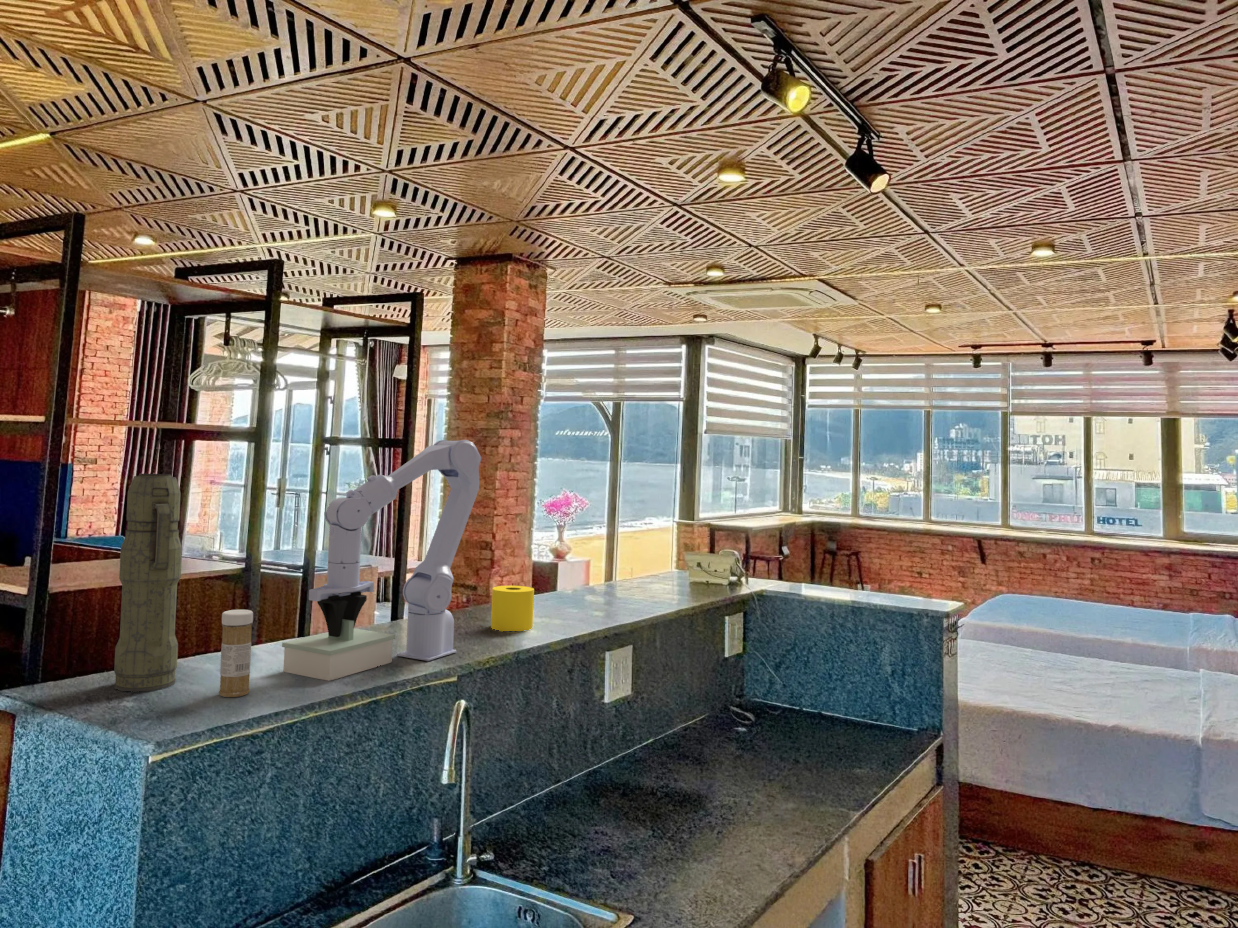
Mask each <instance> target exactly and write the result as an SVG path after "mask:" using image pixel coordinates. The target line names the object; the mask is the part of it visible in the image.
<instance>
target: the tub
mask: <svg viewBox="0 0 1238 928" xmlns="http://www.w3.org/2000/svg"><path fill="white" fill-rule="evenodd" d="M393 640H394V639H393ZM393 640H389V641H385V642H381V643H377V644H374V645H370V646H366V647H362V648H358V649H354V650H350V651H346V652H343V653H339V654H335V655H331V656H330V655H324V654H319V653H313V652H307V651H302V650H296V649H291V648H285V647H284V650H283V651H284V654H283V673H288V674H293V675H296V676H297V675H298V676H303V677H307V678H312V679H318V680H323V681H327V682H328V681H329V682H330V681H334V680H337V679H339V678H340V679H341V678H343V677H347V676H350V675H353V674H356V673H360V672H363V671H366V670H370V669H374V668H376V667H377V666H378V667H381V666H384V665H388V664H390V663H391V664H392V660H393V643H394V642H393ZM380 665H381V666H380Z"/></svg>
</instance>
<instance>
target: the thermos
mask: <svg viewBox="0 0 1238 928" xmlns="http://www.w3.org/2000/svg"><path fill="white" fill-rule="evenodd" d="M181 495H182V494H181V490H180V486H179V482H178V479H177V477H175V476H172V474H167V473H165V474H164V473H139V474H138V475H134V476H133V478H132V481H131V482H130V485H129V487H128V491H127V499H126V500H127V502H126V503H127V504H126V522H127V528H126V529H125V537H124V540H123V541H122V543H121V547H120V554H119V555H120V559H119V575H118V576H119V581H120V583H121V587H122V588H121V602H120V603H121V605H120V606H121V607H120V625H119V627H120V628H119V629H120V630H119V639H118V641H117V643H116V645H115V648H114V651H115V652H114V671H113V672H114V674H115V682H114V689H115V690H116V689H118V690H121V691H120V692H123V691H131V692H130V693H140V692H139V691H146V692H152V691H151V690H154V691H158V689H159V690H163V689H162V688H164V689H167V688H169V687H172V686H174V685H175V684H176V678H175V677H176V669H177V667H178V656H179V655H178V654H179V653H178V652H179V643H178V639H177V637H176V620H177V619H176V617H177V616H176V615H177V597H178V583H179V581H180V579H181V577H182V561H183V560H182V559H183V558H182V557H183V545H182V542H181V539H180V537H179V536H180V530H179V528H178V527H179V526H178V525H179V522H180V514H181V513H180V512H181V511H180V510H181ZM166 687H167V688H166ZM118 690H117V691H118ZM132 691H133V692H132ZM136 691H138V692H136Z"/></svg>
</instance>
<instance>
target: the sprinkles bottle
mask: <svg viewBox="0 0 1238 928" xmlns="http://www.w3.org/2000/svg"><path fill="white" fill-rule="evenodd" d="M253 622H254V612H253V611H252V610H250V609H231V610H230V609H229V610H226V611H223V612H222V614H221V626H222V637H221V646H220V647H221V651H220V668H219V669H220V670H219V672H220V673H219V675H220V681H219V691H218V694H219V696H221V697H224V698H240V697H243V696H245V695H248V694H249V693H250V676H251V675H250V673H251V658H252V657H251V656H252V655H251V654H252V627H253Z"/></svg>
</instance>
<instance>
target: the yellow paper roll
mask: <svg viewBox="0 0 1238 928" xmlns="http://www.w3.org/2000/svg"><path fill="white" fill-rule="evenodd" d="M491 591H492V592H491V594H492V595H491V611H490V612H491V613H490V614H491V615H490V617H491V618H490V629H491V628H492V629H491V630H493V629H495V630H494V631H496V630H499V631H498V632H503V631H523V632H525V631H524V630H529V629H531V628H532V627H533V626H534V625H533V624H534V602H535V600H534V599H535V598H534V597H535V588H534V587H531V586H523V585H497V586H494V587H492V588H491ZM532 629H533V628H532ZM532 629H531V630H532ZM529 631H530V630H529Z"/></svg>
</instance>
